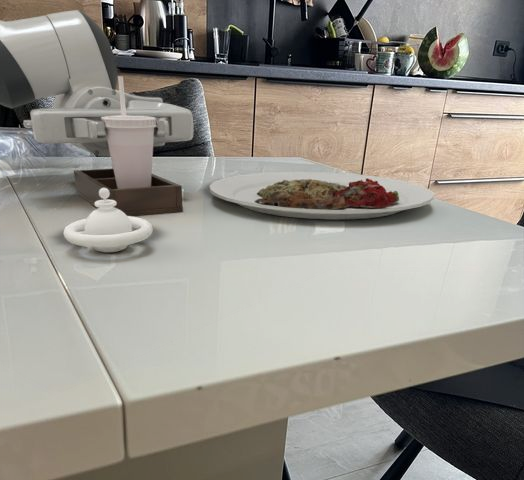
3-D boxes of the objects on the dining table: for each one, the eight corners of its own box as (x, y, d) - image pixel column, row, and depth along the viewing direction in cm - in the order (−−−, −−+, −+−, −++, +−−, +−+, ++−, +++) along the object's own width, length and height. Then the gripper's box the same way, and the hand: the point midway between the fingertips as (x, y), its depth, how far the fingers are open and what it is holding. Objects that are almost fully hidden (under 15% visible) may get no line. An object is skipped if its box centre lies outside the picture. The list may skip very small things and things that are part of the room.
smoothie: (104, 197, 70) (92, 75, 64) (153, 194, 73) (146, 76, 66) (114, 207, 65) (101, 75, 59) (167, 204, 67) (160, 77, 61)
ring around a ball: (48, 251, 51) (104, 269, 47) (37, 189, 48) (95, 201, 44) (116, 233, 56) (171, 247, 52) (110, 176, 54) (167, 186, 50)
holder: (109, 218, 63) (106, 190, 62) (76, 193, 77) (73, 170, 76) (182, 211, 67) (181, 185, 66) (139, 189, 81) (137, 167, 80)
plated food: (214, 182, 88) (213, 160, 86) (398, 185, 89) (400, 163, 88) (203, 225, 61) (202, 194, 59) (467, 228, 62) (472, 198, 61)
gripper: (16, 95, 69) (34, 99, 58) (169, 97, 78) (209, 100, 67) (25, 148, 72) (43, 161, 61) (172, 144, 81) (210, 154, 70)
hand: (132, 129), depth 64 cm, fingers closed on smoothie, 6 cm apart
